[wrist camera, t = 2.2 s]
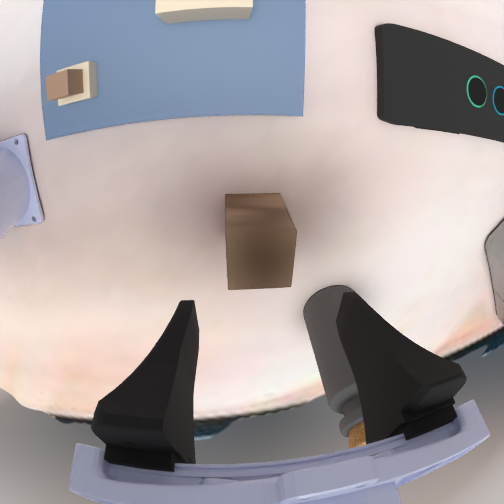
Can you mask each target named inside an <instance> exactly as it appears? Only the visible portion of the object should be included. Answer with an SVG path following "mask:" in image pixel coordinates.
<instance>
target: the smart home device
mask: <svg viewBox="0 0 504 504" xmlns="http://www.w3.org/2000/svg"><path fill="white" fill-rule="evenodd" d="M375 39H376V56H377V116H378V118H379V119H380V120H382V121H385V122H388V123H391V124H395V125H403V126H413V127H415V128H420V129H429V130H436V131H443V132H450V133H456V134H459V133H462V134H467V135H472V136H477V137H482V138H487V139H491V140H496V141H500V142H504V65H502V64H500V63H498V62H496V61H494V60H492V59H490V58H488V57H486V56H484V55H482V54H480V53H477V52H475V51H473V50H471V49H468V48H466V47H464V46H461V45H459V44H456V43H453V42H451V41H448V40H445V39H443V38H440V37H437V36H434V35H431V34H428V33H425V32H422V31H419V30H415V29H411V28H408V27H404V26H400V25H396V24H383V25H379V26H376V27H375Z"/></svg>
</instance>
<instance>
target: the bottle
mask: <svg viewBox="0 0 504 504" xmlns="http://www.w3.org/2000/svg"><path fill="white" fill-rule="evenodd" d="M343 292H354V291H353V290H352V289H350V288H348V287H345V286H332V287H328V288H325V289H323V290H321V291H319V292H317V293H316V294H314V295H313V296H312V297H311V298H310V299H309V301H308V302H307V303H306V305H305V308H304V319H305V323H306V326H307V330H308V333H309V337H310V340H311V344H312V347H313V351H314V354H315V358H316V361H317V365H318V369H319V372H320V376H321V379H322V383H323V386H324V390H325V393H326V397H327V400H328V404H329V407H330V408H331V409H332V410H333V411H334V412H337V413H340V414H344V417H343V418H342V420H341V421H340V423H339V427H340V431H341V434H342V435H343V436H345V437H349V449H350V448H355V447H359V446H363V445H366V438H365V428H364V421H363V414H362V408H361V403H360V398H359V393H358V389H357V385H356V381H355V378H354V375H353V372H352V369H351V367H350V364H349V362H348V359H347V356H346V354H345V351H344V349H343V346H342V343H341V341H340V338H339V334H338V330H337V325H336V318H337V315H338V311H339V307H340V304H341V300H342V296H343Z"/></svg>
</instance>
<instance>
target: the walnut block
mask: <svg viewBox="0 0 504 504" xmlns="http://www.w3.org/2000/svg"><path fill="white" fill-rule="evenodd" d="M225 235H226V258H227V278H228V290H240V289H263V288H283V287H291V284H292V275H293V266H294V257H295V247H296V237H297V231H296V228H295V226H294V224H293V222H292V219H291V217H290V215H289V213H288V210H287V208H286V206H285V204H284V202H283V199H282V197H281V195H280V193H259V194H226V203H225Z"/></svg>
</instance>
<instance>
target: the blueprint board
mask: <svg viewBox="0 0 504 504" xmlns="http://www.w3.org/2000/svg"><path fill="white" fill-rule="evenodd" d="M40 74H41V95H42V108H43V118H44V127H45V134H46V140H50V139H54V138H58V137H62V136H66V135H71V134H75V133H80V132H84V131H89V130H94V129H100V128H105V127H111V126H117V125H123V124H130V123H137V122H144V121H153V120H162V119H172V118H183V117H198V116H218V115H284V116H303V102H304V74H305V0H44V4H43V13H42V25H41V45H40Z"/></svg>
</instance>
